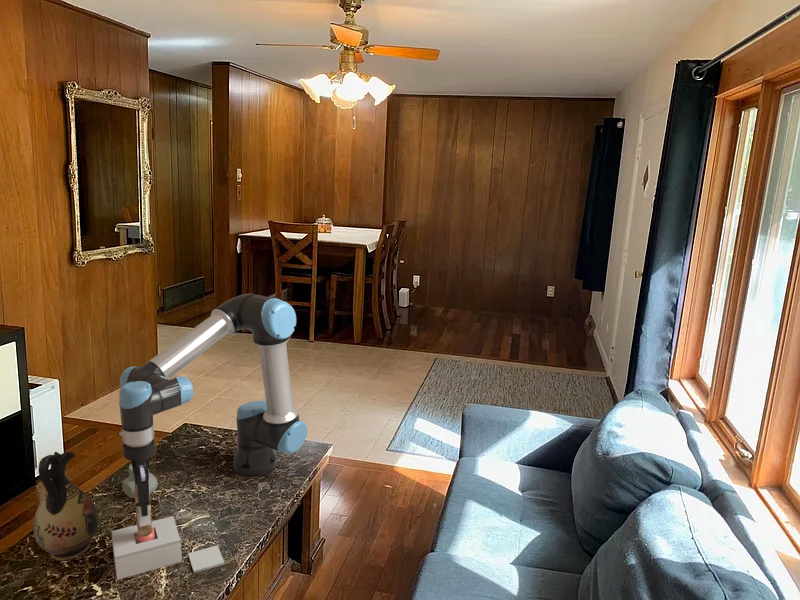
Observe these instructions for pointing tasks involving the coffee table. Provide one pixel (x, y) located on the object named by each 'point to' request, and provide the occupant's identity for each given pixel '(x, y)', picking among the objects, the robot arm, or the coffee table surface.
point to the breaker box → (146, 548)
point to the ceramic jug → (63, 512)
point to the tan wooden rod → (143, 529)
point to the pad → (205, 559)
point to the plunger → (145, 537)
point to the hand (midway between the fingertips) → (144, 520)
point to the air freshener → (130, 483)
